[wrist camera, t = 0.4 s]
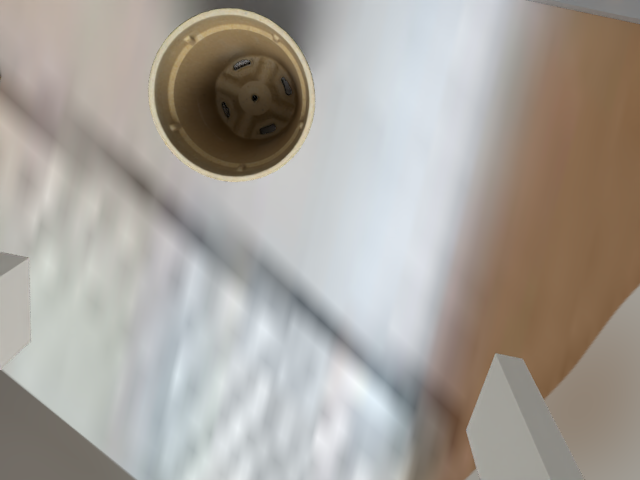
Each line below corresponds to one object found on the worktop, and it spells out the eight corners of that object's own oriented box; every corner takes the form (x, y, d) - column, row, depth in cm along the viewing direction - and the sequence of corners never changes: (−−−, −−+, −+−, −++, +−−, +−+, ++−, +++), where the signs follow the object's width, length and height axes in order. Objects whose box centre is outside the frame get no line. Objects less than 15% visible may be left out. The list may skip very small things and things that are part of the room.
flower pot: (257, 190, 39) (235, 214, 30) (164, 98, 37) (114, 98, 29) (347, 100, 37) (349, 100, 28) (252, -1, 35) (226, -33, 27)
